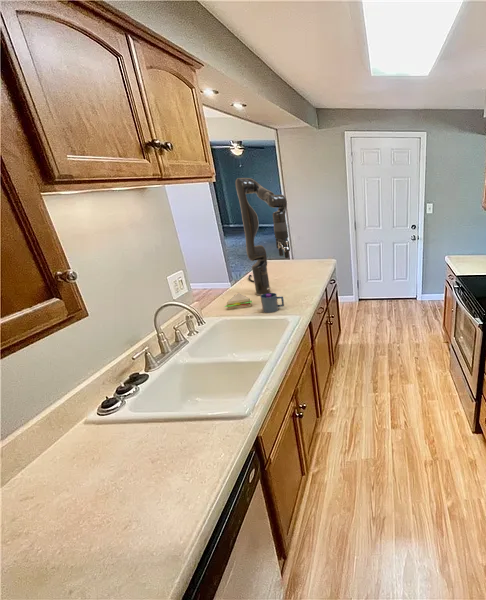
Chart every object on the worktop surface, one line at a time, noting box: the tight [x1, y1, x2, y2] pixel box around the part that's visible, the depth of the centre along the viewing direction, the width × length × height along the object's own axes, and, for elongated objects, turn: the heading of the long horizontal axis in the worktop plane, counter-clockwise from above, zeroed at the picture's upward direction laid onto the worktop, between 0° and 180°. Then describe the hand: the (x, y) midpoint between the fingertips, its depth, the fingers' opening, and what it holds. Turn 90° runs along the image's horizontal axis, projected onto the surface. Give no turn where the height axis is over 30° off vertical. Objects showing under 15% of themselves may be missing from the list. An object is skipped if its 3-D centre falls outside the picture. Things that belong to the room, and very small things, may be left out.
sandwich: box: [224, 291, 253, 310], centre depth 208 cm, size 15×20×5 cm
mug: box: [259, 292, 285, 314], centre depth 198 cm, size 13×9×10 cm
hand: (284, 256), depth 200 cm, fingers open, 8 cm apart
